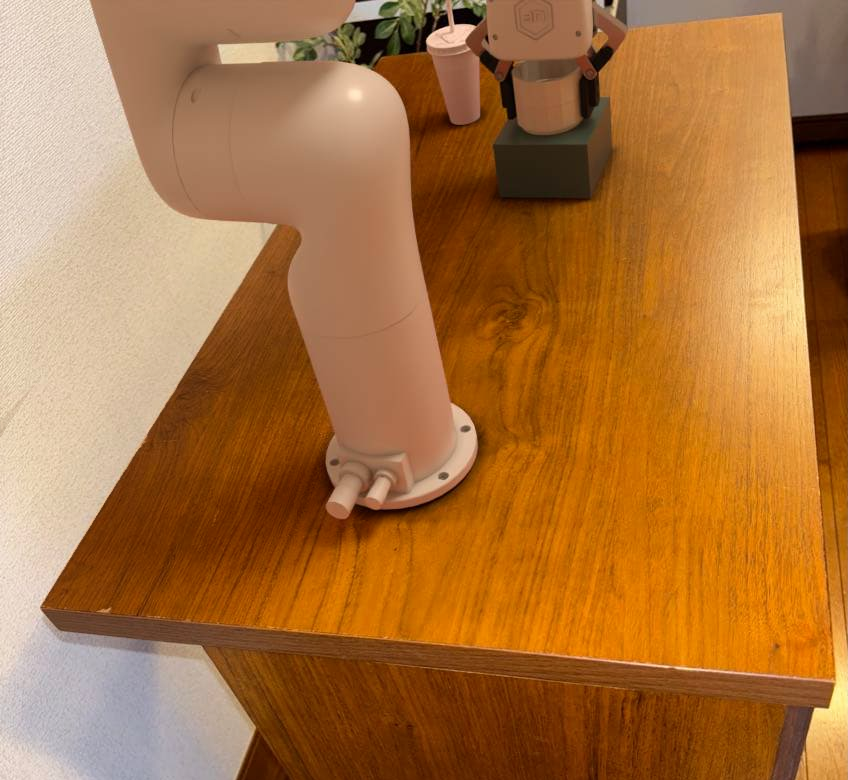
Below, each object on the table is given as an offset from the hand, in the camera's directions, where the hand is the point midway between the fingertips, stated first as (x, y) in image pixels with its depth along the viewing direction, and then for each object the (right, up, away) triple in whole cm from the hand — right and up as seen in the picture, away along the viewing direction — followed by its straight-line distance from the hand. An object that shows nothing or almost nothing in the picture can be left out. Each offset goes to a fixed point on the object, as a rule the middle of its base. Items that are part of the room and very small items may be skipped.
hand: (551, 112), depth 102 cm
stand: (+1, -5, +5) cm, 7 cm away
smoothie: (-8, +7, +18) cm, 21 cm away
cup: (0, -1, +1) cm, 1 cm away
